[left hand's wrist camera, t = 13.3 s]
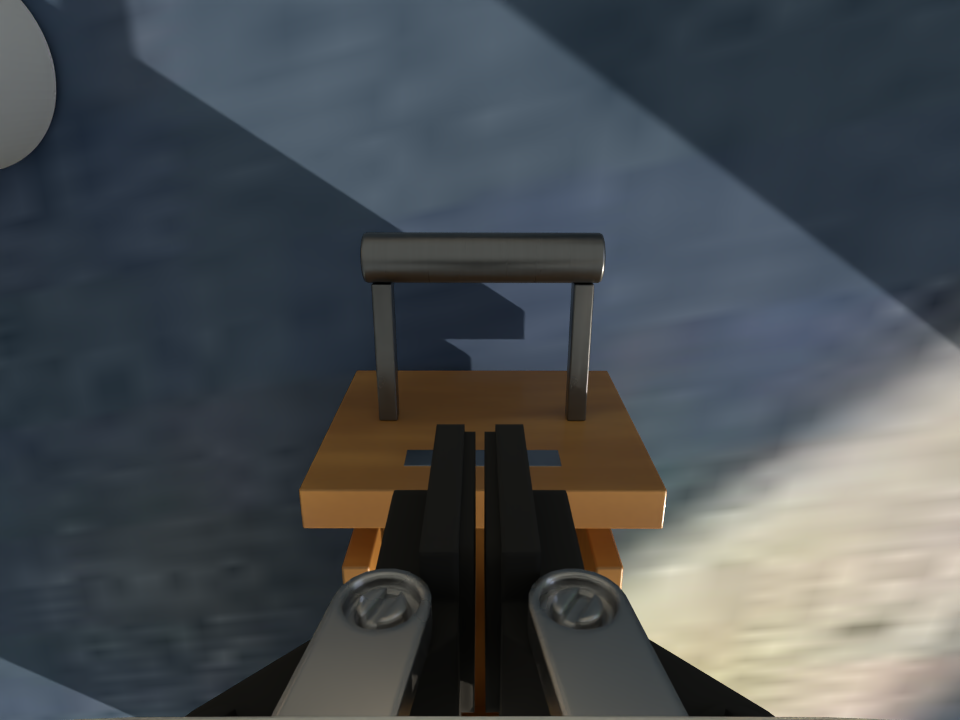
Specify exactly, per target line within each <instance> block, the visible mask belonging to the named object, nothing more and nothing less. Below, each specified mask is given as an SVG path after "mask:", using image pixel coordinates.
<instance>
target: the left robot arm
mask: <svg viewBox="0 0 960 720" xmlns="http://www.w3.org/2000/svg"><path fill="white" fill-rule="evenodd" d="M475 602H476V432H465V424H437V426H436V433H435V440H434V447H433V454H432V461H431V468H430V476H429V483H428V490H394V492H393V495H392V499H391V504H390V508H389V512H388V517H387V521H386V525H385V530H384V534H383V538H382V543H381V547H380V552H379V556H378V560H377V565H376V569H375V570H372V571H367V572H364V573H362V574H360V575H357V576H355V577H353V578H351V579H350V580H349V581H347V582H346V583H345V584H343V585H342V586H341V587H340V589H339V590H338V591H337V592H336V594H335V595H334V597H333V599H332V601H331V602H330V604H329V606H328V608H327V610H326V612H325V614H324V616H323V618H322V620H321V622H320V624H319V625H318V627H317V629H316V631H315V633H314V635H313V637H312V639H311V640H309V641H307V642H306V643H304V644H303V645H301V646H299V647H298V648H296V649H294V650H293V651H291V652H289V653H288V654H286V655H284V656H283V657H281V658H279V659H278V660H276V661H274V662H273V663H271V664H270V665H268V666H266V667H265V668H263V669H261V670H260V671H258V672H256V673H255V674H253V675H251V676H250V677H248V678H246V679H245V680H243V681H241V682H240V683H238V684H236V685H235V686H233V687H232V688H230V689H228V690H227V691H225V692H223V693H222V694H220V695H218V696H217V697H215V698H213V699H212V700H210V701H208V702H207V703H205V704H203V705H202V706H200V707H198V708H197V709H195V710H194V711H192V712H191V713H189V714H188V715H187V716H185V717H129V718H102V719H76V720H884V719H858V718H832V717H775V716H773V715H772V714H771V713H769V712H768V711H766V710H765V709H763V708H762V707H760V706H758V705H757V704H755V703H753V702H752V701H750V700H748V699H747V698H745V697H743V696H742V695H740V694H738V693H737V692H735V691H733V690H732V689H730V688H728V687H727V686H725V685H724V684H722V683H720V682H719V681H717V680H715V679H714V678H712V677H710V676H709V675H707V674H705V673H704V672H702V671H700V670H699V669H697V668H695V667H694V666H692V665H690V664H689V663H687V662H686V661H684V660H682V659H681V658H679V657H677V656H676V655H674V654H672V653H671V652H669V651H667V650H666V649H664V648H662V647H661V646H659V645H657V644H656V643H654V642H653V641H651V640H649V639H648V637H647V635H646V633H645V631H644V629H643V627H642V625H641V624H640V622H639V620H638V618H637V616H636V614H635V612H634V610H633V608H632V606H631V604H630V602H629V601H628V599H627V597H626V595H625V594H624V592H623V591H622V590H621V589H620V587H619V586H618V585H617V584H615V583H614V582H613V581H611V580H610V579H609V578H607V577H605V576H603V575H600V574H598V573H596V572H593V571H588V570H585V569H584V565H583V560H582V556H581V552H580V547H579V543H578V539H577V534H576V530H575V525H574V521H573V517H572V512H571V508H570V504H569V499H568V495H567V492H566V490H532V483H531V476H530V468H529V461H528V454H527V447H526V440H525V433H524V426H523V424H495V432H484V602H485V709H486V712H499V716H461V712H474V709H475Z"/></svg>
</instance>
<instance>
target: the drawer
mask: <svg viewBox="0 0 960 720" xmlns="http://www.w3.org/2000/svg"><path fill="white" fill-rule="evenodd" d="M360 258H361V270H362V275H363V278H364V280H365V282H368V283H372V285H371V288H372V305H373V322H374V339H375V357H376V371H356V373H355V375H354V378H353V380H352V382H351V384H350V386H349V388H348V390H347V392H346V394H345V396H344V398H343V400H342V402H341V404H340V406H339V408H338V411H337V413H336V415H335V417H334V419H333V421H332V423H331V425H330V427H329V429H328V431H327V433H326V435H325V437H324V439H323V441H322V444H321V446H320V448H319V450H318V452H317V454H316V456H315V458H314V460H313V462H312V464H311V466H310V468H309V470H308V472H307V474H306V477H305V479H304V481H303V483H302V485H301V487H300V489H299V496H300V506H301V515H302V524H303V528H354V529H353V533H352V536H351V539H350V542H349V546H348V549H347V552H346V555H345V559H344V562H343V565H342V577H343V584H345V583H346V582H347V581H349V580H350V579H351V578H353V577H355V576H357V575H360V574H362V573H364V572H367V571H372V570H375V569H376V565H377V560H378V556H379V552H380V547H381V543H382V538H383V534H384V530H385V525H386V521H387V517H388V512H389V508H390V504H391V499H392V495H393V492H394V490H428V483H429V476H430V468H431V461H432V454H433V447H434V440H435V433H436V426H437V424H465V432H476V602H475V709H474V712H461V716H499V712H486V709H485V602H484V432H495V424H523V426H524V433H525V440H526V447H527V454H528V461H529V468H530V476H531V483H532V490H566V492H567V495H568V499H569V504H570V508H571V512H572V517H573V521H574V525H575V530H576V534H577V539H578V543H579V547H580V552H581V556H582V560H583V565H584V569H585V570H588V571H593V572H596V573H598V574H600V575H603V576H605V577H607V578H609V579H610V580H611V581H613V582H614V583H615V584H617V585H618V586H619V587H620V589H621V588H622V577H623V566H622V562H621V559H620V556H619V553H618V550H617V547H616V543H615V540H614V537H613V534H612V531H611V528H639V529H661V528H662V527H663V520H664V511H665V503H666V494H667V490H666V488H665V486H664V484H663V482H662V480H661V478H660V476H659V474H658V472H657V470H656V468H655V466H654V464H653V462H652V460H651V458H650V456H649V454H648V452H647V450H646V448H645V446H644V444H643V442H642V440H641V438H640V436H639V434H638V432H637V430H636V428H635V426H634V424H633V422H632V420H631V418H630V416H629V414H628V412H627V410H626V408H625V406H624V404H623V402H622V400H621V398H620V396H619V394H618V392H617V390H616V388H615V386H614V384H613V382H612V380H611V378H610V376H609V374H608V372H607V371H589V359H590V344H591V328H592V312H593V297H594V284H593V283H599V282H601V280H602V278H603V274H604V269H605V241H604V238H603V235H602V234H601V233H364V234H363V237H362V240H361V250H360ZM394 283H572V288H571V307H570V326H569V345H568V365H567V371H398V366H397V344H396V323H395V301H394Z"/></svg>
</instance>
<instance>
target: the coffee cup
mask: <svg viewBox="0 0 960 720" xmlns="http://www.w3.org/2000/svg"><path fill="white" fill-rule="evenodd" d="M55 102H56V76H55V70H54V64H53V60H52V56H51V53H50V50H49V47H48V44H47V42H46V39H45V37H44V35H43V33H42V31H41V29H40V27H39V25H38V24H37V22H36V20H35V19H34V17H33V16H32V14H31V13H30V11H29V10H28V9H27V7H26V6H25V5H24V3H23V2H22V1H21V0H0V169H3V168H6V167H9V166H11V165H13V164H15V163H17V162H19V161H20V160H22V159H23V158H25V157H26V156H27V155H29V154H30V153H31V152H32V151H33V150H34V149H35V148H36V147H37V146H38V144H39V143H40V142H41V140H42V139H43V137H44V136H45V134H46V132H47V130H48V128H49V125H50V123H51V120H52V117H53V113H54V109H55Z"/></svg>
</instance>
